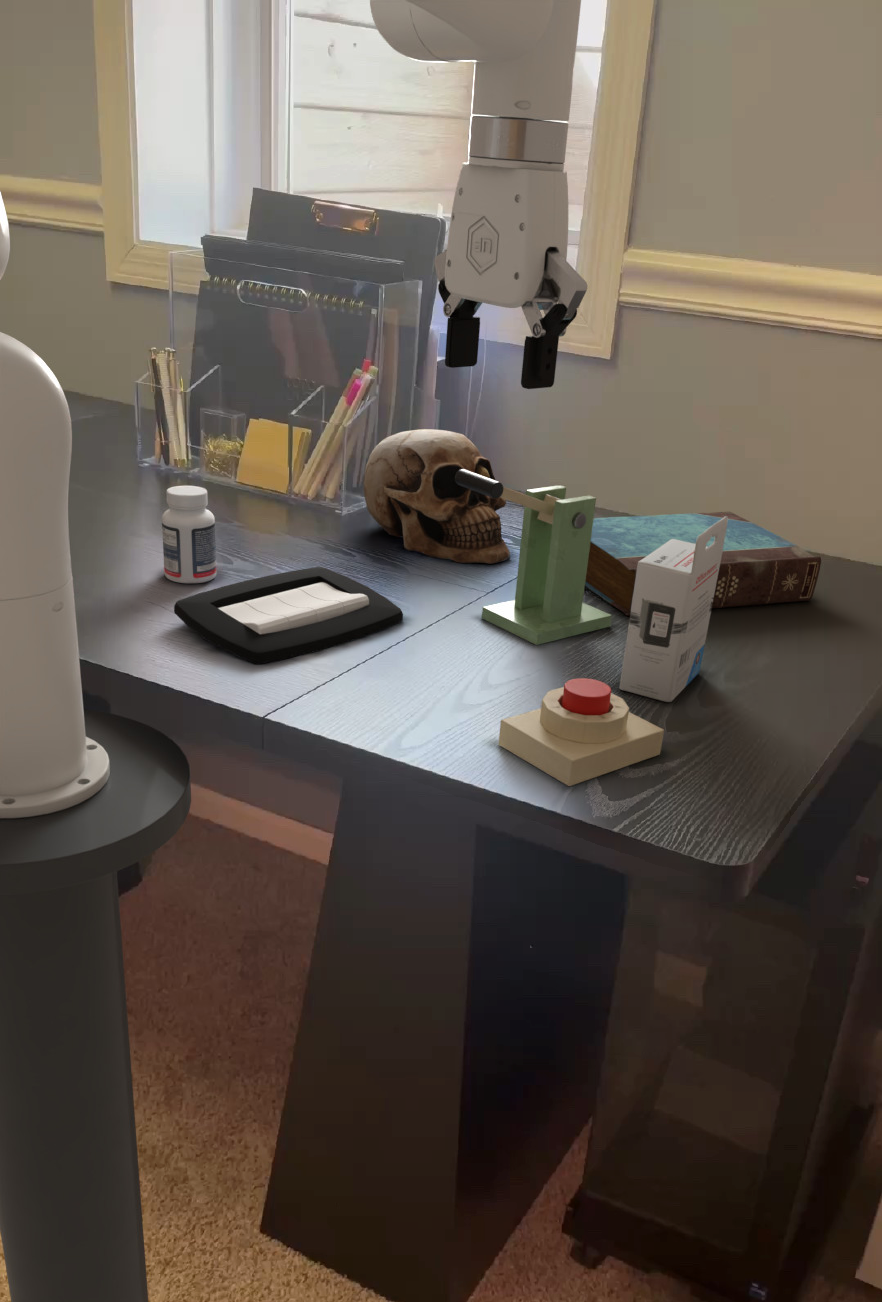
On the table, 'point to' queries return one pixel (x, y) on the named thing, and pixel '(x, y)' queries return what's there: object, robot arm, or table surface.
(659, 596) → the ink box
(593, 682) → the button
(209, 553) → the pill bottle
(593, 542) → the book
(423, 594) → the table surface
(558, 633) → the bracket
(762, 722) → the table surface
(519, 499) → the lever
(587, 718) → the button box
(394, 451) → the human skull model
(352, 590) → the light switch
